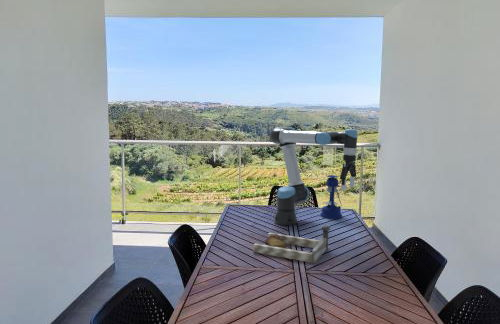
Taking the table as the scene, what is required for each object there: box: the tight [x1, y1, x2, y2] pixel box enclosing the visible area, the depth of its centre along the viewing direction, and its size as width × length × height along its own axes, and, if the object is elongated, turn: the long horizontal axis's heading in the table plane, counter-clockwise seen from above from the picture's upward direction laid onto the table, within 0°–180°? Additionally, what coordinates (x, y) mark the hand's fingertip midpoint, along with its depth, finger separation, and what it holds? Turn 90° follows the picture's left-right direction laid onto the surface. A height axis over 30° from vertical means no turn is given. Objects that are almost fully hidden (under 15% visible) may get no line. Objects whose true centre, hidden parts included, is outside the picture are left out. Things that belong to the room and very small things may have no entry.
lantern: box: [319, 174, 343, 220], centre depth 259 cm, size 17×15×30 cm
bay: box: [252, 225, 331, 264], centre depth 193 cm, size 34×26×12 cm
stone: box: [265, 233, 287, 249], centre depth 197 cm, size 15×9×5 cm, turn 12°
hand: (347, 188), depth 226 cm, fingers open, 13 cm apart
